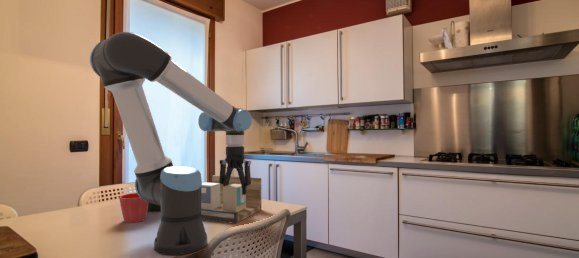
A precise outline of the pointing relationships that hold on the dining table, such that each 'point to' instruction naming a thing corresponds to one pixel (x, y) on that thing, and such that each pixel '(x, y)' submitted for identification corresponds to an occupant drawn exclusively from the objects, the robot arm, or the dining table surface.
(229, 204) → the tea box
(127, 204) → the flower pot
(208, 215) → the shelf
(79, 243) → the dining table surface
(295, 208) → the dining table surface
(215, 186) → the cream box
